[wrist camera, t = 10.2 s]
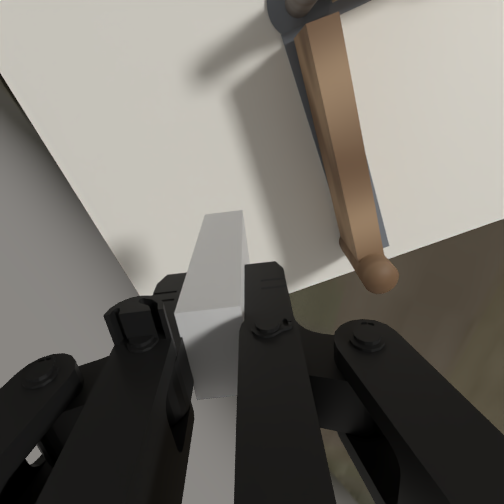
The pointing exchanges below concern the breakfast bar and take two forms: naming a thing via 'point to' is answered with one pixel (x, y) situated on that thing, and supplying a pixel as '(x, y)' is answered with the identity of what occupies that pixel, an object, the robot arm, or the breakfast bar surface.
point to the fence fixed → (299, 7)
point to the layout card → (259, 122)
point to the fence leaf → (343, 149)
